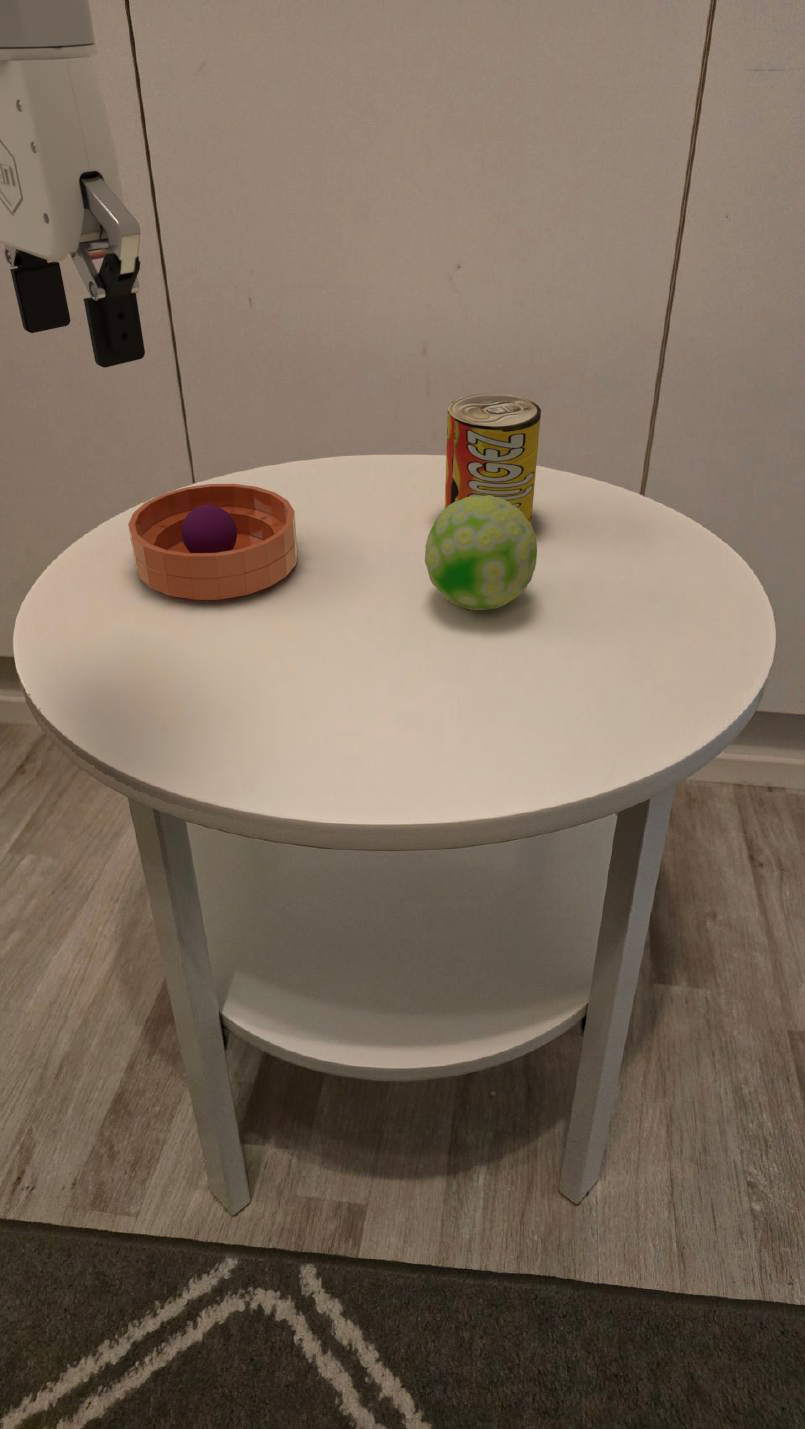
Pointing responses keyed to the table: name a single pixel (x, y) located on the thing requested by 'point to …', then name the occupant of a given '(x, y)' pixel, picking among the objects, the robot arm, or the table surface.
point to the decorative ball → (481, 552)
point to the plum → (209, 530)
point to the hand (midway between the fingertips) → (83, 344)
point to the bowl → (213, 576)
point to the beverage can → (492, 449)
